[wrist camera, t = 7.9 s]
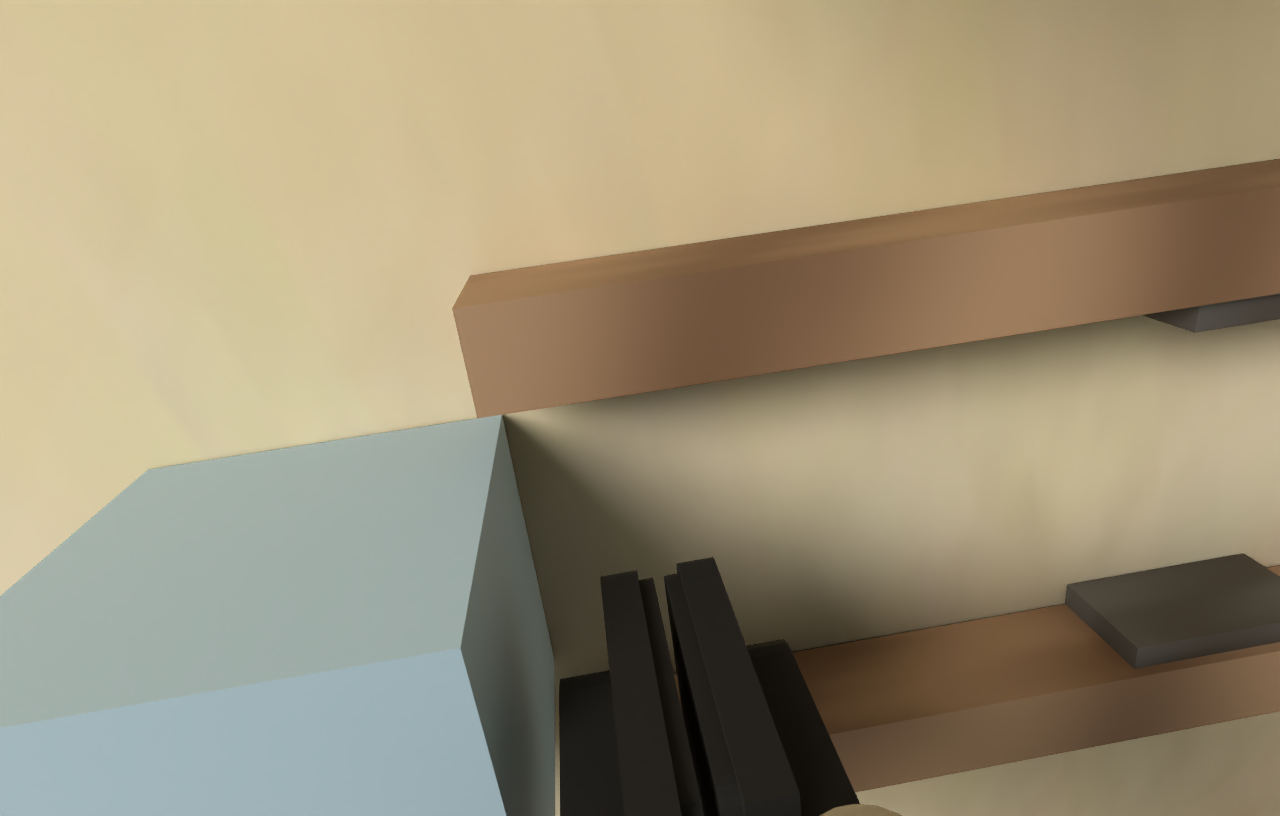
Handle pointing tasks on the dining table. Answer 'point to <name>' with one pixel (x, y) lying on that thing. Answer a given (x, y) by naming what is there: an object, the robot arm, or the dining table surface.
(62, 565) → the block
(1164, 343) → the dining table surface
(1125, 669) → the chute
